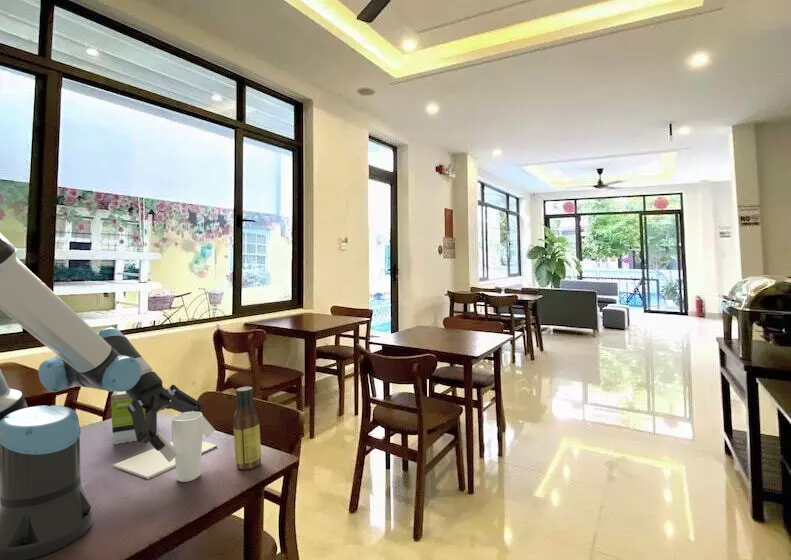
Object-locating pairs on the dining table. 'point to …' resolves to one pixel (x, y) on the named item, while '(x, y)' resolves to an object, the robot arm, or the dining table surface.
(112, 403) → the tea box
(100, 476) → the dining table surface
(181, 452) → the white cup
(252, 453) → the sauce bottle
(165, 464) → the placemat
